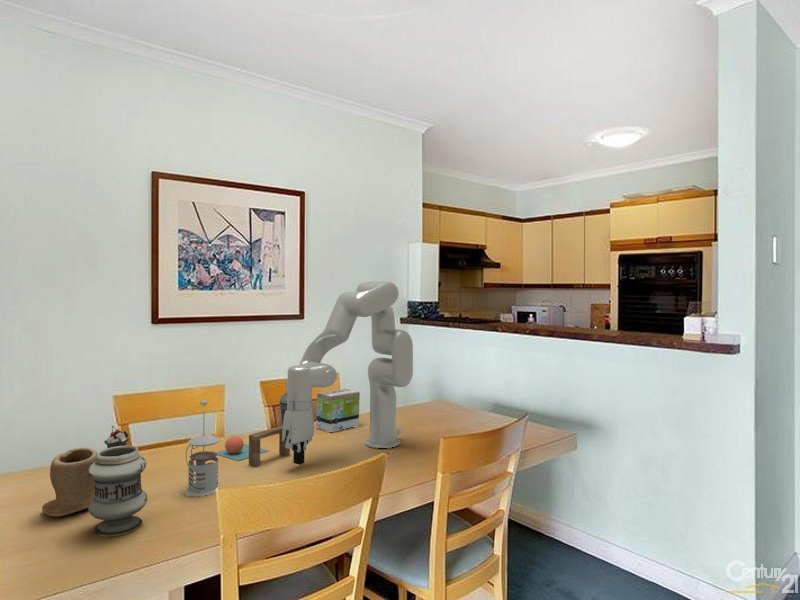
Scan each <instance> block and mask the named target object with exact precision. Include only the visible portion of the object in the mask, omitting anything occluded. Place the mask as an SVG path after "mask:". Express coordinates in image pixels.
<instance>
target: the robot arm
mask: <svg viewBox="0 0 800 600" xmlns="http://www.w3.org/2000/svg"><path fill="white" fill-rule="evenodd" d="M399 295H400V294H399V289H398V287H397V285H396V284H395V283H393V282H391V281H386V280H385V281H383V280H382V281H376V280H375V281H374V280H373V281H371V280H369V281H363V282H361V283H359V284H358V285H357V288H356V291H345V292H343V293H341V294H340V295H339V296H338V298H337V299H336V302H335V304H334V306H333V308H332V311H331V314H330V316H329V317H328V320H327V323H326V325H325V328H324V330H322V332H321V333H320V334H318V336H316V337H315V339H314V340H312V342H311V343H310V344H309V345H308V346H307V348H306V349H305V351H304V353H303V356H302V357H301V360H300V362H299V364H298V365H297V364H296V365H292V366H289V367H288V369H287V380H286V381H287V391H286V393H287V411H285V415H284V420H283V430H282V441H283V442H286V445H285V447H286V448H289V449H290V450H291V451H292V452H293V454H292V455H293V460H292V462H293V464H296V465H299V466H300V465H302V464H303V465H304V464H305V452H306V449H307V445H308V444H309V443H310V442H312V440H313V438H314V435H315V420H314V419H315V416H314V409H313V408H312V405H313V404H312V403H313V398H312V397H313V396H312V395H313V394H312V393H313V391H312V389H313V388H322V389H323V388H329V387H331V386H333V385H334V383H335V382H336V380H337V377H338V374H337V373H338V372H337V370H336V368H335V367H333V366H332V365H331V364H328V363H322V360H323V359H324V357H325V355H326V354H327V353H328V352H330V350H332V349H334V348H336V347H338V346H340V345H342V344H344V343H346V342H347V341H348V340H349V337H350V335H351V332H352V330H353V328H354V325H355V322H356V321H357V318H358V317H359V318H367V317H370V319H371V348H372V350H373V351H374V352H375V353H377V354H380V355H385V356H386V355H387V356H391V357H390V358H389V357H383V356H382V357H376V358H374V359H372V360H371V361H370V363H369V365H368V367H367V375H368V376H367V377H368V381H369V382H368V383H369V389H370V390H369V392H370V394H369V395H370V400H369V404H370V406H369V410H370V411H369V437H368V438H367V439H366V440H365V445H366V447H369V448H372V449H378V448H387V449H393V448H392V447H394V448H397V447H398V445H399V444H401V441H400V439H399V438H397V436H398V435H400V434H402V429H401V428H397V392H396V389H395V388H405V387H407V386H408V385H410V382H411V381H412V380H413V371H414V363H413V362H414V345H413V339H412V336H411V335H410V333H409V332H408V331H406V330H403V329H401V328H400V329H399V328H396V322H395V321H396V320H395V312H394V309H393V307H392V306H393V305H394V304H395V303H396V302H397V301H398V298H399ZM396 446H397V447H396Z"/></svg>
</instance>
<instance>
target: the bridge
mask: <svg viewBox="0 0 800 600" xmlns="http://www.w3.org/2000/svg"><path fill="white" fill-rule="evenodd" d="M282 430H283V426H282V425H279V426H276V427H273V428H270V429H267V430H263V431H259V432H256V433H251V434H249V435H248V445H249V458H248V466H249V467H253V468H257V467H261V454H260V448H261V440H262V439H265V438H268V437H272V436H275V435H279V439H278V441H279V443H278V444H279V445H278V446H279V449H278V455H279V456H282V457H288V456H290V455H291V449H289V448H286V447H285V445H286V442H283V441H282Z"/></svg>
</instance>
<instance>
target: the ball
mask: <svg viewBox="0 0 800 600" xmlns="http://www.w3.org/2000/svg"><path fill="white" fill-rule="evenodd" d="M244 444H245V443H244V440H243V438H242V437H240V436H238V435H232V436H229V437H228V438H227V440H226V441H225V443H224V448H225V450H227V452H229V453H230V454H237V453H239V452H240V451H241V450H242V449H243V445H244Z"/></svg>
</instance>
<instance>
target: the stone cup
mask: <svg viewBox="0 0 800 600" xmlns="http://www.w3.org/2000/svg"><path fill="white" fill-rule="evenodd" d="M97 454H98V451H96V449H94V448H91V447H77V448H72V449H69V450H67V451H65V452H64V453H60V454H58V455H56V456H55V457H54V458H53V459H52V461H51V463H50V467H49V477H50V478H49V479H50V483H51V485H52V488H53V490H54V493H55V499H51V500H49V501H48V502H45V503H44V504H43V505H42V507H41V511H42V512H43V514H45V515H47V516H49V517H56V518H57V517H63V516H67V515H70V514H75V513H77V512H80V511H83V510H86V509H88V507H89V504H90V502H91V500H92V499H93V498H94V496H95V481H94V480H93V479H92V478H91V477H90V476H89V473H88V471H89V468H90V466H91V465H92V464H93V463H94V462H95V461H96V458H97Z"/></svg>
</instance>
